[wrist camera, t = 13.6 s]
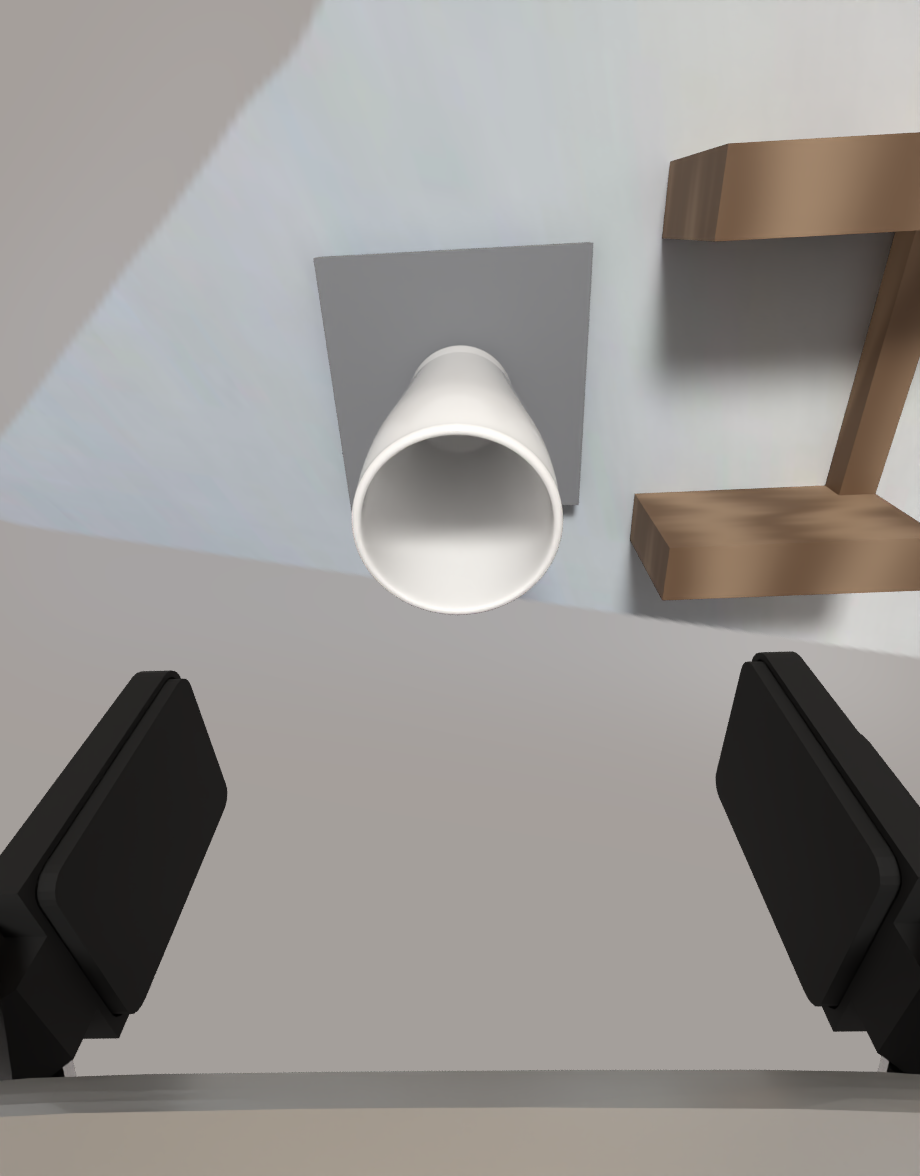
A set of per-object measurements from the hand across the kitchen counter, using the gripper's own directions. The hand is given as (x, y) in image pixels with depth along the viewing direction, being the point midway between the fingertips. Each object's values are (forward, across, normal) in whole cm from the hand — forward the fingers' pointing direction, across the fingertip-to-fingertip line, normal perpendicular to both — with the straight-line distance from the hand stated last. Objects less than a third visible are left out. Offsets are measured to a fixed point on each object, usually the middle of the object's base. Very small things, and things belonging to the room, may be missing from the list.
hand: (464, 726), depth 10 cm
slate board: (+26, 0, 0) cm, 26 cm away
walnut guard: (+26, -16, 0) cm, 30 cm away
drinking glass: (+24, 0, 0) cm, 25 cm away
